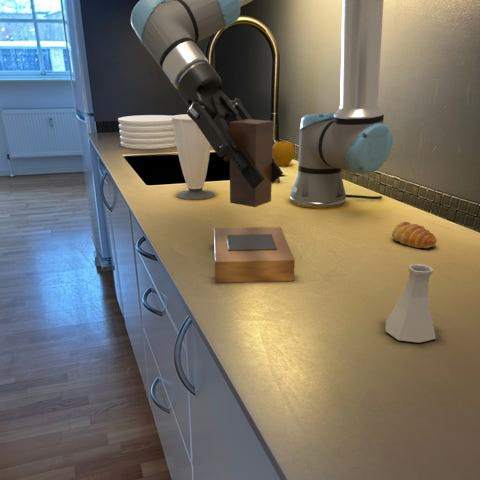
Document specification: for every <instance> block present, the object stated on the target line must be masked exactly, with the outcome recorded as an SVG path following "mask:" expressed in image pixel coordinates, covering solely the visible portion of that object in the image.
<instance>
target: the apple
mask: <svg viewBox="0 0 480 480" xmlns="http://www.w3.org/2000/svg"><path fill="white" fill-rule="evenodd" d="M294 157H295V146H294V145H293V143H292V142H291V141H286V140H281V141H275V143H274V144H273V151H272V158H273V160H274V161H275V162H276V164H277V165H278V167H288V166H289V165H290V164H291V163H292V161H293V159H294Z"/></svg>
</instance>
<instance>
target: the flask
mask: <svg viewBox="0 0 480 480" xmlns="http://www.w3.org/2000/svg"><path fill="white" fill-rule="evenodd" d="M408 272H409V274H408V279H407V282H406V285H405V288H404V291H403V292H402V294H401V296H400V297H399V299H398V301H397V303H396V305H395V306H394V308H393V310H392V311H391V313H389V316H388V317H387V319H386V321H385V324H384V325H385V332H386V333H387V334H389V335H390V336H391V337H393V338H394V339H396V340H397V341H400V342H401V341H402V342H410V343H411V342H412V343H418V344H419V343H425V342H428V341H433V340H436V339H437V335H436V330H435V326H434V322H433V317H432V311H431V304H430V299H429V282H430V276H431V275H433V273H434V270H433V267H432V266H429V265H427V264H424V263H414V264H412V263H411V264H409V265H408Z"/></svg>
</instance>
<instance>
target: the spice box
mask: <svg viewBox="0 0 480 480" xmlns="http://www.w3.org/2000/svg"><path fill="white" fill-rule="evenodd" d="M252 119H253V118H252ZM252 119H245V120H239V121H232V122H230V128H229V129H230V133H231V134H232V135H233V137H234V139H235V142H236V144H237V146H238V148H239V149H238V151H239V150H240V149H244V151H245V152H246V154H247V155H248V156H249V158H250V159H251V160H252V162H253V163H254V165H255V166H256V167H257V169H258V170H259V171H260V173H261V174H262V176H263V177H264V178H265V179H264V180H263V181H262V182H261V183H260V184H259V185H258V186H257V187H256V188H255V189H252V187H251V186H250V184H249V183H248V182H247V180H246V179H245V178H244V176H243V175H242V173H241V172H240V171H239V170H238V169H237V167H236V166H235V164H234V163H233V162H232V160H231V159H230V160H229V203H230V204H235V205H239V206H245V207H252V208H256V207H259V206H261V205H264V204H267V203H269V202H271V201H272V184H273V183H272V158H273V157H272V151H273V145H274V144H273V143H274V120H264V119H253V120H252Z"/></svg>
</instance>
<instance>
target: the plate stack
mask: <svg viewBox="0 0 480 480" xmlns="http://www.w3.org/2000/svg"><path fill="white" fill-rule="evenodd" d="M173 116H174V115H168V114H167V115H165V114H143V115H141V114H140V115H127V116H121V117H118V118H117V122H118V123H119V124H118V128H119V135H120V136H119V140H120V146H121V147H123V148H127V149H135V150H157V149H158V150H159V149H168V148H174V147H175V148H177V146H176V141H175V135H174V129H173V122H172V117H173Z"/></svg>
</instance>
